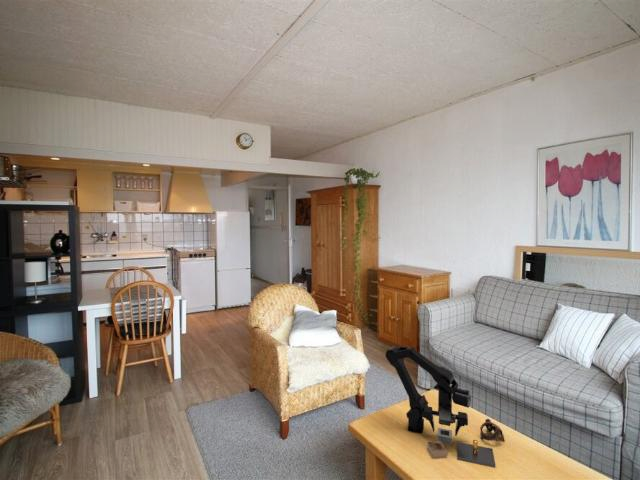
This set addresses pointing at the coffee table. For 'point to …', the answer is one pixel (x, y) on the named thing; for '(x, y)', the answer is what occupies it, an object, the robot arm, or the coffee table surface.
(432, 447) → the brown hollow square block
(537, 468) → the coffee table surface
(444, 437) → the grey square frame
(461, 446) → the keeper
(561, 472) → the coffee table surface
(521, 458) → the coffee table surface
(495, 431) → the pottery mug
